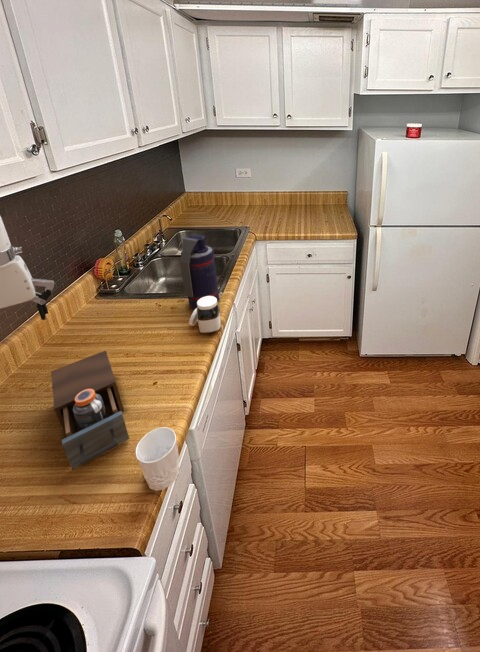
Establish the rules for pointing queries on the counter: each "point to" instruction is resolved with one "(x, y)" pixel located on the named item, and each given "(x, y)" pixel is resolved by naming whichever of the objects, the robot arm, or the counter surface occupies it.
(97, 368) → the cabinet
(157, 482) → the white cup
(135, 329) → the counter surface
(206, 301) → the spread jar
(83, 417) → the pill bottle
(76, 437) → the drawer
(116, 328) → the counter surface
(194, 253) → the navy water bottle
